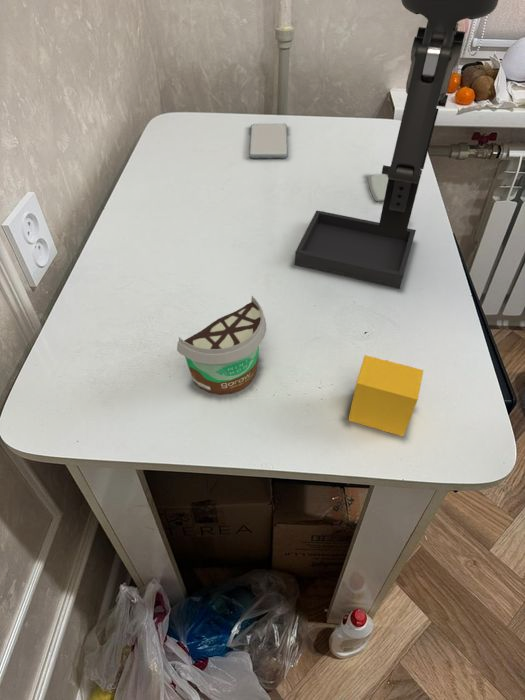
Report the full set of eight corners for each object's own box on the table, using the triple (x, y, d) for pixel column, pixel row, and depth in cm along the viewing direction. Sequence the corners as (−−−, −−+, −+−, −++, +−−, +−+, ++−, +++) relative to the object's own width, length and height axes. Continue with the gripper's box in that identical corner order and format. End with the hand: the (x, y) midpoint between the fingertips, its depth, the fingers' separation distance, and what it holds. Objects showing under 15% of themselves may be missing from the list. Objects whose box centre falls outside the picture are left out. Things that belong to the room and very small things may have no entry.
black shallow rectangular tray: (412, 243, 87) (415, 229, 85) (399, 289, 80) (403, 275, 78) (315, 223, 91) (316, 210, 89) (294, 265, 84) (295, 251, 82)
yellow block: (409, 408, 65) (423, 369, 59) (403, 436, 62) (418, 399, 56) (355, 393, 66) (364, 354, 60) (348, 420, 64) (356, 382, 58)
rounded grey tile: (286, 123, 116) (288, 154, 105) (286, 127, 116) (288, 159, 106) (250, 123, 116) (248, 154, 106) (250, 127, 116) (248, 159, 106)
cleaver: (366, 174, 101) (391, 170, 101) (366, 180, 102) (391, 176, 102) (381, 222, 90) (409, 217, 90) (381, 228, 91) (409, 224, 91)
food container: (211, 419, 64) (204, 370, 56) (185, 389, 67) (174, 339, 59) (284, 370, 69) (286, 320, 61) (256, 344, 72) (255, 293, 65)
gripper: (430, -86, 46) (387, 138, 62) (380, -13, 31) (341, 259, 47) (516, -82, 44) (449, 147, 61) (509, -2, 29) (422, 276, 45)
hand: (402, 197), depth 54 cm, fingers open, 13 cm apart
